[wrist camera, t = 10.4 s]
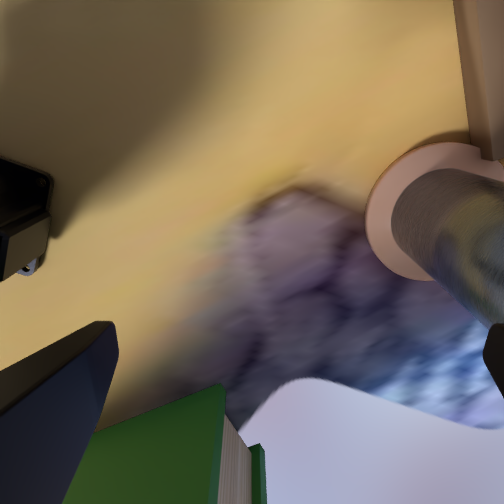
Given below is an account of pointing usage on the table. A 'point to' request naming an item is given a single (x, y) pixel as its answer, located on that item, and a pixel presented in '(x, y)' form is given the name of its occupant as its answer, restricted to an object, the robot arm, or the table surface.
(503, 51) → the pocket frame
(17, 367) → the robot arm
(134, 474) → the hardback book
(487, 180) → the tea tin
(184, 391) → the table surface
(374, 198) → the coaster
